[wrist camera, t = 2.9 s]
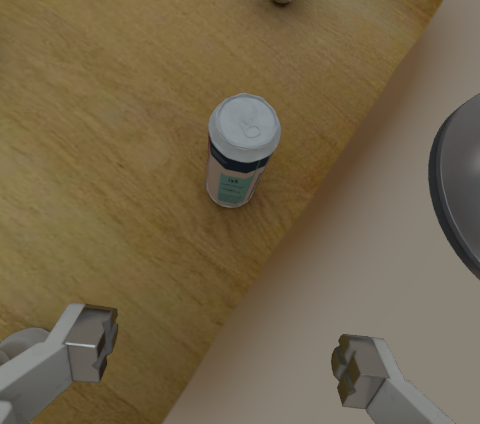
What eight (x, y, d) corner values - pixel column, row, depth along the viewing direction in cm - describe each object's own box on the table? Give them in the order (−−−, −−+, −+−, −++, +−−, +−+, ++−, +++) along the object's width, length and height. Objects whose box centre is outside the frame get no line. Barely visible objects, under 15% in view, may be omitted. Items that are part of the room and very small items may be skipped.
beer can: (241, 157, 32) (263, 78, 20) (262, 197, 31) (297, 139, 19) (198, 174, 31) (196, 101, 19) (218, 216, 30) (228, 166, 18)
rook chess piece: (45, 394, 24) (-26, 438, 17) (-10, 377, 24) (-107, 413, 17) (71, 336, 26) (16, 352, 18) (19, 319, 26) (-59, 329, 18)
